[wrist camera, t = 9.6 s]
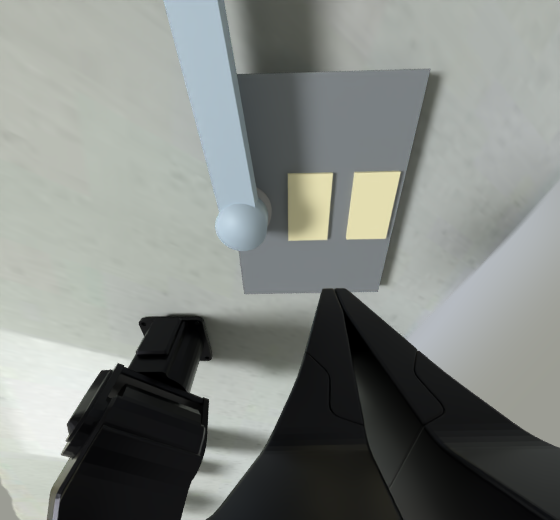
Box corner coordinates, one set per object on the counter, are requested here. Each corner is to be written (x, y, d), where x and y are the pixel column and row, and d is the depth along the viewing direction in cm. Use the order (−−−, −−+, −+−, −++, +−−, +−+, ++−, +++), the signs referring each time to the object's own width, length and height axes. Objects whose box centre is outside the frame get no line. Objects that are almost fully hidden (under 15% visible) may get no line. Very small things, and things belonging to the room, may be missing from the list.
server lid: (373, 283, 24) (380, 297, 22) (237, 285, 24) (234, 300, 22) (420, 70, 15) (438, 67, 13) (207, 76, 15) (198, 74, 14)
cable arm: (271, 232, 18) (270, 249, 16) (228, 237, 19) (222, 254, 17) (213, -137, 10) (196, -197, 8) (135, -120, 10) (99, -175, 8)
